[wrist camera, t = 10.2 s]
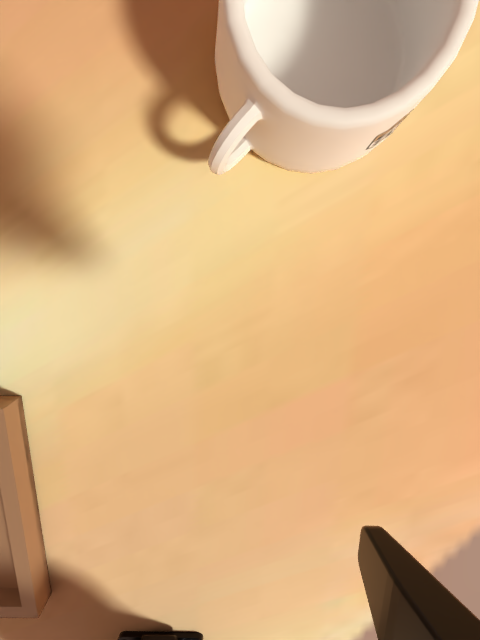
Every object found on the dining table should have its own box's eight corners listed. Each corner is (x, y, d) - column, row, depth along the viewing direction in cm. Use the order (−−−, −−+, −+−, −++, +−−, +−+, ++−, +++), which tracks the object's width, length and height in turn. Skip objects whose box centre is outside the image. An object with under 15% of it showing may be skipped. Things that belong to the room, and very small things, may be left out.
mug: (317, -100, 15) (370, -329, 9) (447, 71, 16) (566, -26, 10) (147, 113, 17) (96, 42, 11) (277, 246, 18) (296, 248, 12)
